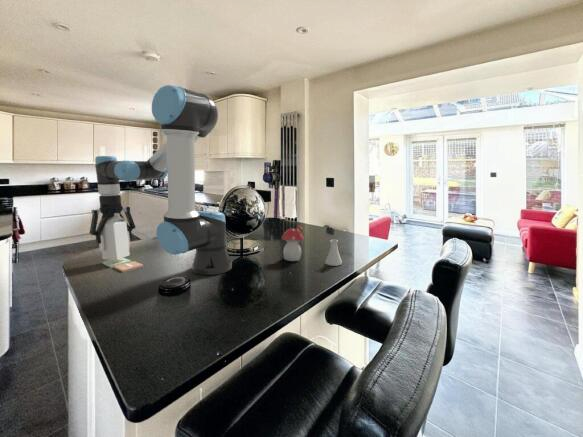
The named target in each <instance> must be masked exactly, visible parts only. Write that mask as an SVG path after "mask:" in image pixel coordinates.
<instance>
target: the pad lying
mask: <svg viewBox="0 0 583 437" xmlns="http://www.w3.org/2000/svg"><path fill="white" fill-rule="evenodd" d="M143 267H144V264H142V263H140V262H138V261H135V260H134V261H133V260H132V261H131V262H128V263H124V264H120V265H116V266H114V267H113V269H114V270H115V269H116V270H117V271H119V272H121V273H126V272H129V271H133V270H136V269H139V268H143Z"/></svg>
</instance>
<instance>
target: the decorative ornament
mask: <svg viewBox="0 0 583 437" xmlns="http://www.w3.org/2000/svg"><path fill="white" fill-rule="evenodd" d="M301 231H303V227H302V226H301V225H298V226H297V227H296V228H293V227H290V228H288V229H286V230H285V232H284V233H283V234H282V235H281V240H282V241H286V243H285V245H284V247H283V250H282V254H283V259H284V261H287V262H298V261H300V259H301V257H302V248H301V246H300V244H299V242H300V243H301V242H303V241H304V236H303V234H302V233H301Z"/></svg>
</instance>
